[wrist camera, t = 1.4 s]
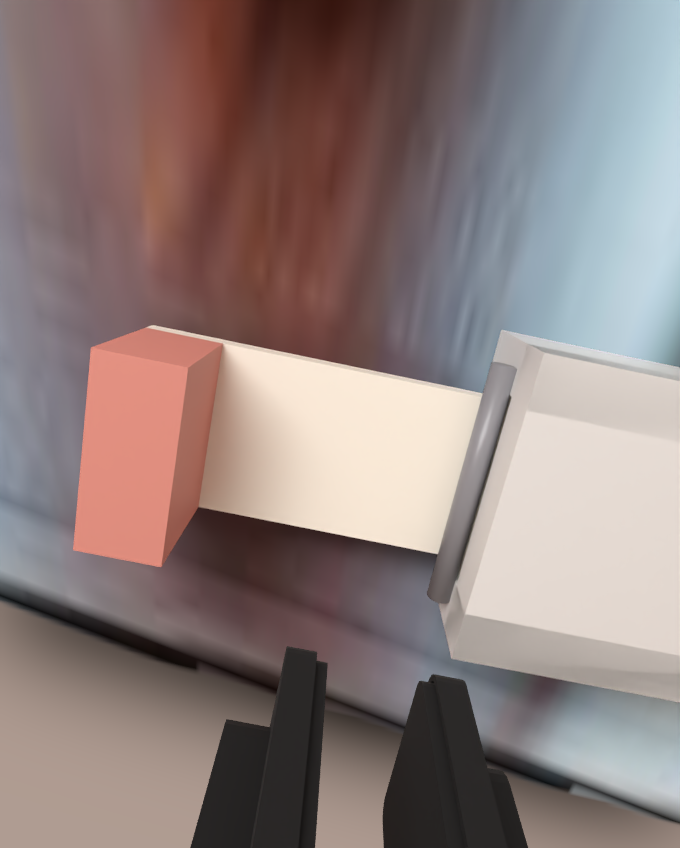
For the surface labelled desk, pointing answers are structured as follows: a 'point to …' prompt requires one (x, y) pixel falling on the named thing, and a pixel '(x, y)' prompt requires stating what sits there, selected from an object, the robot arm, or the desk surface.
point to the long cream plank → (261, 445)
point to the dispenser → (569, 521)
